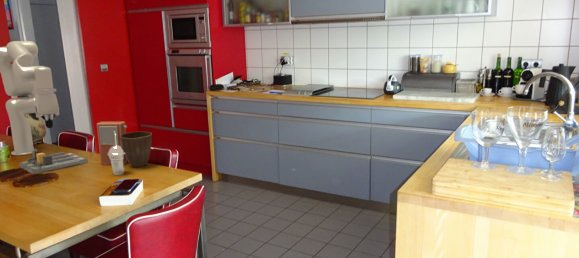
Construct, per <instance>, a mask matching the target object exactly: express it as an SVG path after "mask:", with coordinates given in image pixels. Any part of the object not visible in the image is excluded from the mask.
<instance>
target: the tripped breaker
mask: <svg viewBox="0 0 579 258" xmlns="http://www.w3.org/2000/svg"><path fill="white" fill-rule="evenodd" d="M42 156H46V153H45V152H41V153H38V154H36V157H37V161H36V162H35V164H36V163H41V162H43V157H42Z"/></svg>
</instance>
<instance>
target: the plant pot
mask: <svg viewBox="0 0 579 258" xmlns="http://www.w3.org/2000/svg"><path fill="white" fill-rule="evenodd" d="M152 136H153V133H152V132H149V131H133V132H128V133H127V132H126V134H123V135H121V136H120V137H121V141H122V145H123V148H124V150H125V151H126V156H127V158H128V163H129V164H130V166H131V167H132V166H133V167H132V168H142V167H141V166H143V167H145V166H144V165H146V164H147V165H148V162H149V158H150V155H151V154H150V153H151V148H152ZM147 165H146V166H147Z"/></svg>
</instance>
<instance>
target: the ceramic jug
mask: <svg viewBox="0 0 579 258" xmlns="http://www.w3.org/2000/svg"><path fill="white" fill-rule="evenodd" d="M24 116H25V117H26V118H27V119H28V120H29V121H30V126H31V133H32V140H33V145H38V144H37V143H40V144H41V143H43V139H44V138H45V137H46V135H47V129H46V128H47V127H46V125H45V123H44V122H43V120H42V118H38V117H36V113H31V114H24Z"/></svg>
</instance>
